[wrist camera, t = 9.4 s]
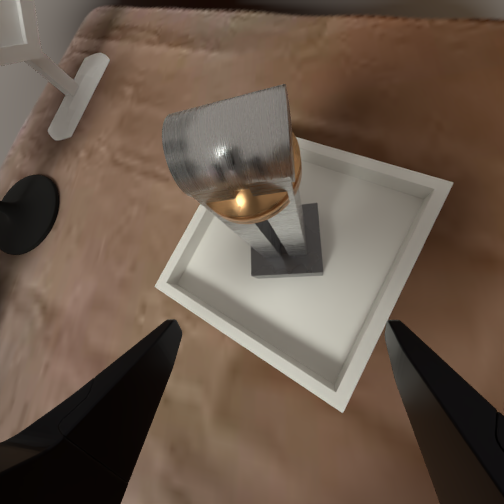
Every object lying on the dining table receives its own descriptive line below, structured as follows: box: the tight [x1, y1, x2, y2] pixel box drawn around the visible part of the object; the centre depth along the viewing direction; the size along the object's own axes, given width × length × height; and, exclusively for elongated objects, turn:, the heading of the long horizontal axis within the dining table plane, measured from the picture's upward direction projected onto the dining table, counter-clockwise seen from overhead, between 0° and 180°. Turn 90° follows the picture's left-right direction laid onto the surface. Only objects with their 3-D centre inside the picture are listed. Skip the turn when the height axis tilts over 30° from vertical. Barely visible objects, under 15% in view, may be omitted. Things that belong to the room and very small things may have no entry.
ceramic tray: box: [155, 137, 454, 413], centre depth 18 cm, size 16×16×2 cm
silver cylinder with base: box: [162, 84, 323, 279], centre depth 12 cm, size 5×5×14 cm
